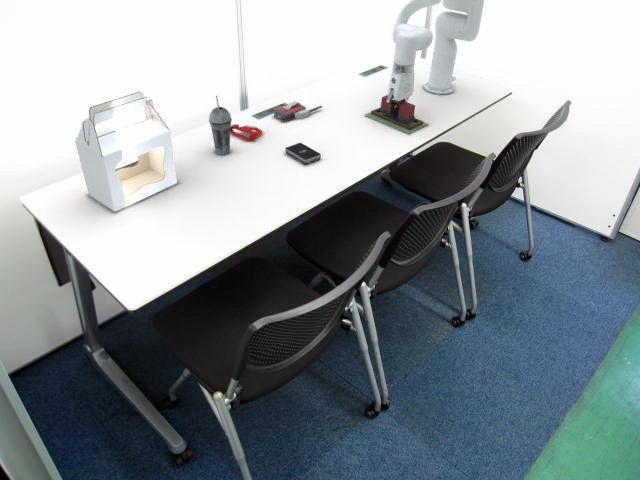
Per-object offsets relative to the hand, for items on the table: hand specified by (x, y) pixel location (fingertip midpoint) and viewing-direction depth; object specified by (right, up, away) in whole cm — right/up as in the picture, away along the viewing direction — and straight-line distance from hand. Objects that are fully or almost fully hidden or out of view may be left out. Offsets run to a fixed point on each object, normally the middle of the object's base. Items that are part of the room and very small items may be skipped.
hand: (397, 114), depth 206 cm
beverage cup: (-62, -18, -24) cm, 69 cm away
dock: (0, -2, +1) cm, 2 cm away
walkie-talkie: (-38, +1, +3) cm, 38 cm away
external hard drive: (-35, -20, -24) cm, 47 cm away
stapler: (0, -1, 0) cm, 1 cm away
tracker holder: (-56, -10, -13) cm, 58 cm away
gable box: (-85, -33, -45) cm, 101 cm away
